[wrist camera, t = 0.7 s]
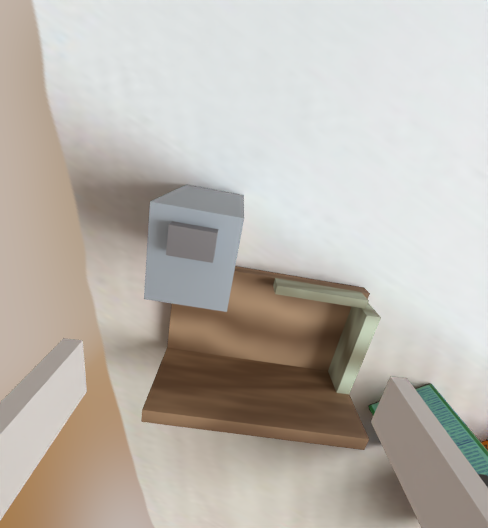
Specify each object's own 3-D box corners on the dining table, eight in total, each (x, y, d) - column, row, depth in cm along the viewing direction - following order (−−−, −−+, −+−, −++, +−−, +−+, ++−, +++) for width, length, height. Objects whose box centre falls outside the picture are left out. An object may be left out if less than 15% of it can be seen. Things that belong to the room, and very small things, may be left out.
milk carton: (367, 405, 39) (549, 763, 16) (431, 382, 38) (730, 740, 15) (386, 444, 42) (561, 796, 19) (445, 425, 41) (715, 780, 18)
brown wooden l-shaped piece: (178, 256, 31) (149, 301, 22) (364, 287, 33) (415, 342, 23) (169, 349, 36) (141, 421, 26) (332, 373, 37) (364, 449, 28)
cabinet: (186, 184, 29) (144, 204, 16) (243, 195, 29) (244, 221, 17) (179, 248, 31) (139, 305, 19) (232, 257, 31) (226, 319, 19)
